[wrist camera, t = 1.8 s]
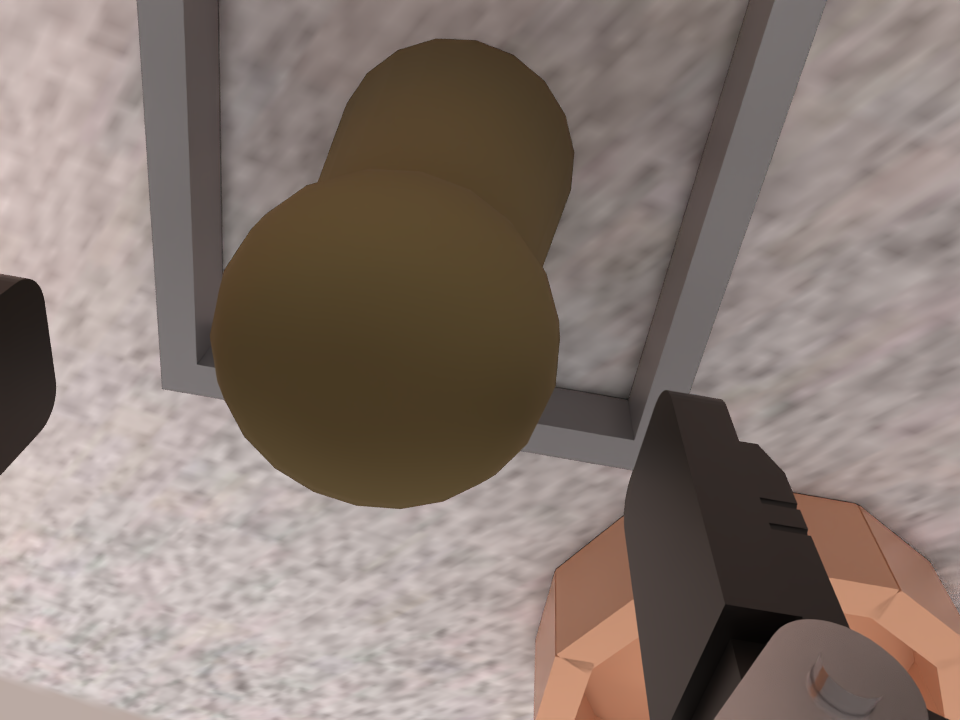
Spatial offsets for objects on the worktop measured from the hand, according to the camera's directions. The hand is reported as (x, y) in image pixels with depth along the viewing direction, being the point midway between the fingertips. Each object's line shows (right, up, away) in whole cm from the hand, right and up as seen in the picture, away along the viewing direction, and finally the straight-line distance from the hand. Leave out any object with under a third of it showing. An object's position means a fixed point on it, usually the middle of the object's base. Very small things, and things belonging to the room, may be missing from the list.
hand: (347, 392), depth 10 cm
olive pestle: (+1, +5, +10) cm, 11 cm away
